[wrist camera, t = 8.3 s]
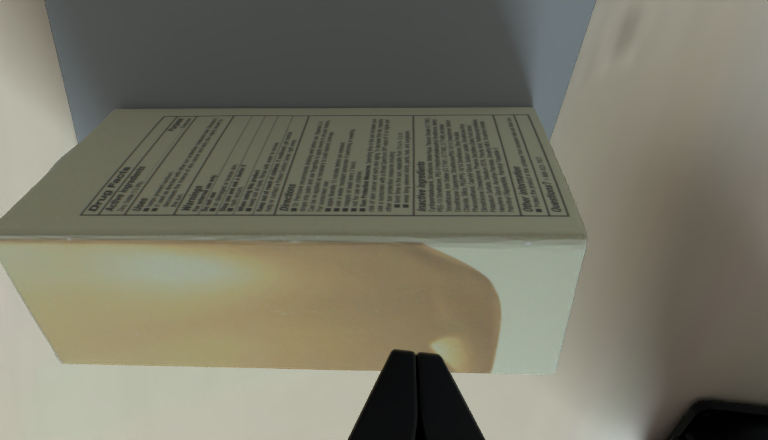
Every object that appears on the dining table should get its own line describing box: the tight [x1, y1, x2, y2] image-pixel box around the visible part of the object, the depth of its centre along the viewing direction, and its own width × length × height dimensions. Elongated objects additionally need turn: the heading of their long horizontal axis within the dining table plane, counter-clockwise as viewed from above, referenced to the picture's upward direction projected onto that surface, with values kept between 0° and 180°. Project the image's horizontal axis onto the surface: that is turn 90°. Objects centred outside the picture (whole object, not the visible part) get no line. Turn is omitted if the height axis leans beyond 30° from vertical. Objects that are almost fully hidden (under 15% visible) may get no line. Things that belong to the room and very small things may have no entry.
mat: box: [44, 0, 596, 144], centre depth 16 cm, size 14×16×1 cm
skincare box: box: [0, 107, 587, 375], centre depth 15 cm, size 6×4×12 cm
